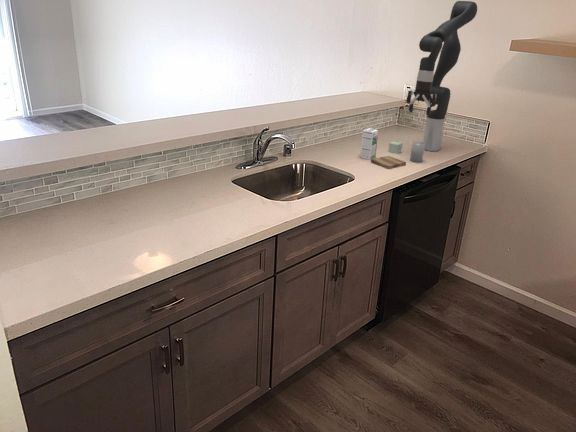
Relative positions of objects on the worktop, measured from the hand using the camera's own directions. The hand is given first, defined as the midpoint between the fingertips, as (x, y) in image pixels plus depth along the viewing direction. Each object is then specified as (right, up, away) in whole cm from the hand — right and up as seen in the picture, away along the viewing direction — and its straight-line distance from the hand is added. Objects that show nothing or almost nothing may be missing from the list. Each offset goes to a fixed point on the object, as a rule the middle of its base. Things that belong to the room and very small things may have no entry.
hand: (419, 113), depth 239 cm
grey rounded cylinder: (-1, -24, +1) cm, 24 cm away
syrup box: (-25, -22, +3) cm, 34 cm away
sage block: (-9, -18, +14) cm, 24 cm away
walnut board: (-17, -26, -5) cm, 31 cm away
